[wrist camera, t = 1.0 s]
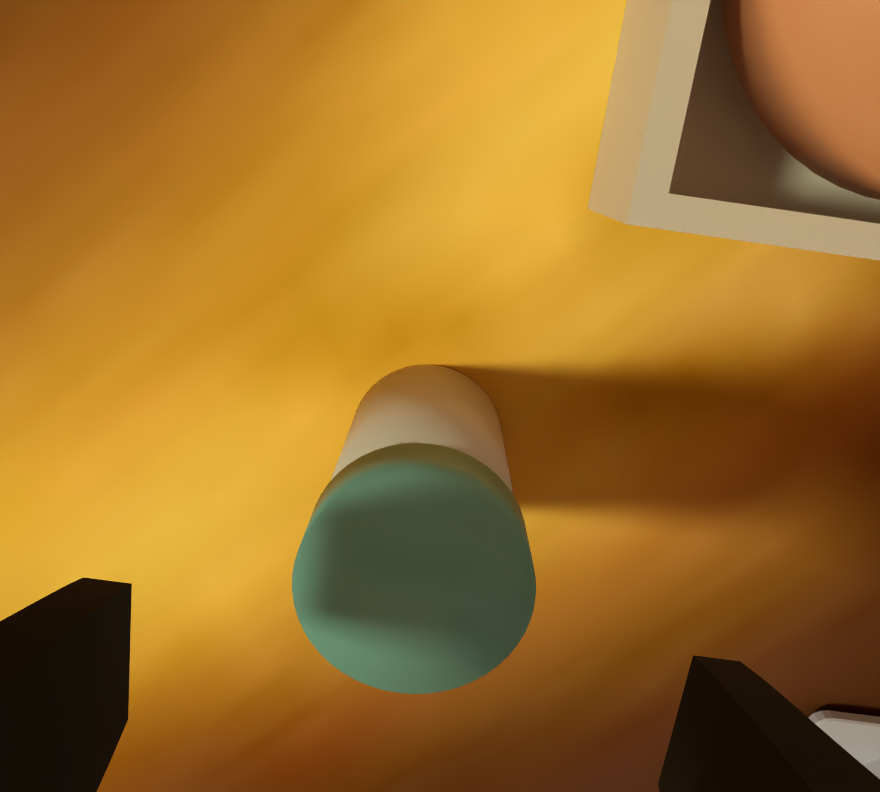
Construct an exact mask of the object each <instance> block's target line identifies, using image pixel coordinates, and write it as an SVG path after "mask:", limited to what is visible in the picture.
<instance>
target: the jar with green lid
mask: <svg viewBox="0 0 880 792" xmlns="http://www.w3.org/2000/svg"><path fill="white" fill-rule="evenodd" d="M292 592H293V599H294V605H295V609H296V612H297V616H298V619H299V621H300V623H301V625H302V628H303V630H304V632H305V633H306V635H307V636H308V638H309V640H310V641H311V643H312V644H313V645H314V647H315V648H316V649H317V650H318V651H319V653H320V654H321V655H322V656H323V657H324V658H325V659H326V660H328V661H329V662H330V663H331V664H332V665H333V666H335V667H336V668H337V669H339V670H340V671H341V672H343V673H345V674H346V675H348V676H350V677H352V678H353V679H355V680H357V681H359V682H362V683H364V684H366V685H369V686H372V687H375V688H379V689H382V690H386V691H392V692H397V693H408V694H424V693H434V692H441V691H446V690H450V689H453V688H457V687H460V686H463V685H465V684H468V683H470V682H473V681H475V680H476V679H478V678H480V677H482V676H484V675H485V674H487V673H488V672H490V671H491V670H493V669H494V668H495V667H497V666H498V665H499V664H500V663H501V662H502V661H503V660H504V659H505V658H507V657H508V656H509V654H510V653H511V652H512V651H513V650H514V648H515V647H516V646H517V645H518V643H519V641H520V640H521V638H522V637H523V635H524V633H525V631H526V629H527V627H528V624H529V622H530V620H531V616H532V612H533V609H534V603H535V595H536V580H535V573H534V567H533V562H532V557H531V552H530V547H529V542H528V537H527V532H526V527H525V522H524V519H523V516H522V513H521V510H520V507H519V505H518V503H517V501H516V499H515V497H514V495H513V489H512V484H511V479H510V473H509V468H508V463H507V457H506V452H505V446H504V441H503V436H502V430H501V425H500V419H499V416H498V413H497V410H496V408H495V406H494V404H493V402H492V401H491V399H490V398H489V396H488V395H487V393H486V392H485V391H484V390H483V389H482V388H481V387H480V386H479V385H478V384H477V383H476V382H475V381H473V380H472V379H470V378H469V377H467V376H466V375H464V374H462V373H460V372H458V371H456V370H453V369H450V368H447V367H442V366H437V365H415V366H410V367H405V368H402V369H399V370H397V371H394V372H392V373H390V374H388V375H387V376H385V377H383V378H382V379H380V380H379V381H378V382H377V383H376V384H374V385H373V386H372V387H371V388H370V390H369V391H368V392H367V393H366V394H365V396H364V397H363V399H362V400H361V402H360V404H359V406H358V408H357V411H356V413H355V416H354V419H353V422H352V424H351V427H350V430H349V433H348V435H347V438H346V441H345V443H344V446H343V449H342V452H341V454H340V457H339V460H338V463H337V465H336V468H335V471H334V473H333V476H332V479H331V481H330V482H329V484H328V485H327V486H326V488H325V489H324V491H323V492H322V494H321V496H320V498H319V500H318V502H317V504H316V506H315V508H314V511H313V513H312V516H311V519H310V521H309V524H308V526H307V529H306V532H305V534H304V537H303V539H302V542H301V545H300V547H299V550H298V553H297V556H296V559H295V563H294V569H293V575H292Z"/></svg>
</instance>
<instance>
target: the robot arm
mask: <svg viewBox="0 0 880 792" xmlns="http://www.w3.org/2000/svg"><path fill="white" fill-rule="evenodd" d="M131 586H132V584H129V583H121V582H114V581H106V580H98V579H90V578H81V579H79V580H77V581H75V582H73V583H71V584H69V585H67V586H65V587H63V588H61V589H59V590H57V591H55V592H53V593H51V594H49V595H48V596H46V597H44V598H42V599H40V600H38V601H37V602H35V603H33V604H31V605H29V606H27V607H26V608H24V609H22V610H20V611H18V612H17V613H15V614H13V615H11V616H9V617H7V618H6V619H4V620H2V621H0V792H96V791H97V789H98V787H99V785H100V783H101V780H102V778H103V776H104V774H105V771H106V769H107V767H108V765H109V763H110V760H111V758H112V756H113V753H114V751H115V749H116V746H117V744H118V742H119V739H120V737H121V734H122V732H123V730H124V727H125V725H126V723H127V720H128V701H129V663H130V624H131ZM658 785H659V791H660V792H880V717H877V716H869V715H861V714H853V713H845V712H837V711H829V710H825V711H818V712H816V713H813V714H812V715H811V716H810V717H807V716H806V715H804V714H803V713H802V712H801V711H800V710H799V709H797V708H796V707H795V706H794V705H793V704H792V703H791V702H789V701H788V700H787V699H786V698H785V697H784V696H782V695H781V694H780V693H779V692H778V691H777V690H775V689H774V688H773V687H772V686H771V685H769V684H768V683H767V682H766V681H765V680H763V679H762V678H761V677H760V676H758V675H757V674H756V673H755V672H753V671H752V670H751V669H749V668H748V667H747V666H745V665H744V664H743V663H741V662H740V661H732V660H724V659H717V658H709V657H701V656H693V658H692V662H691V665H690V669H689V673H688V677H687V680H686V684H685V688H684V691H683V695H682V699H681V702H680V706H679V710H678V713H677V717H676V721H675V724H674V728H673V732H672V735H671V739H670V743H669V746H668V750H667V754H666V757H665V761H664V765H663V768H662V772H661V776H660V779H659V783H658Z"/></svg>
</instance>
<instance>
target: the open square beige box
mask: <svg viewBox="0 0 880 792" xmlns="http://www.w3.org/2000/svg"><path fill="white" fill-rule="evenodd" d="M588 209H589V210H592V211H594V212H597V213H599V214H602V215H604V216H607V217H610V218H612V219H615V220H617V221H620V222H622V223H625V224H629V225H636V226H643V227H650V228H657V229H664V230H671V231H678V232H685V233H692V234H699V235H706V236H713V237H720V238H727V239H734V240H741V241H748V242H755V243H762V244H769V245H776V246H783V247H790V248H797V249H804V250H811V251H818V252H825V253H831V254H838V255H845V256H852V257H859V258H866V259H873V260H880V200H878V199H874V198H869V197H865V196H862V195H859V194H857V193H854V192H851V191H849V190H846V189H843V188H841V187H838V186H836V185H834V184H833V183H831V182H829V181H827V180H826V179H824V178H822V177H820V176H818V175H817V174H815V173H813V172H812V171H811V170H809V169H808V168H807V167H805V166H804V165H803V164H802V163H800V162H799V161H798V160H796V159H795V158H794V157H792V156H791V155H790V154H789V153H788V152H787V151H786V150H785V148H784V147H783V146H782V145H781V144H780V143H779V142H778V141H777V140H776V139H775V138H774V137H773V136H772V135H771V133H770V132H769V131H768V129H767V128H766V126H765V125H764V124H763V122H762V121H761V119H760V118H759V117H758V115H757V114H756V112H755V111H754V109H753V107H752V105H751V103H750V101H749V99H748V97H747V95H746V93H745V91H744V89H743V88H742V86H741V84H740V81H739V78H738V75H737V72H736V69H735V66H734V64H733V61H732V58H731V55H730V51H729V46H728V41H727V36H726V31H725V27H724V21H723V9H722V0H627V3H626V8H625V13H624V19H623V24H622V29H621V34H620V40H619V45H618V50H617V56H616V61H615V66H614V72H613V77H612V82H611V87H610V93H609V98H608V103H607V109H606V114H605V119H604V125H603V130H602V135H601V140H600V146H599V151H598V156H597V162H596V167H595V172H594V178H593V183H592V188H591V193H590V199H589V204H588Z"/></svg>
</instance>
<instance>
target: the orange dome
mask: <svg viewBox="0 0 880 792" xmlns="http://www.w3.org/2000/svg"><path fill="white" fill-rule="evenodd" d="M722 9H723V21H724V27H725V31H726V36H727V41H728V46H729V51H730V55H731V58H732V61H733V64H734V66H735V69H736V72H737V75H738V78H739V81H740V84H741V86H742V88H743V89H744V91H745V93H746V95H747V97H748V99H749V101H750V103H751V105H752V107H753V109H754V111H755V112H756V114H757V115H758V117H759V118H760V119H761V121H762V122H763V124H764V125H765V126H766V128H767V129H768V131H769V132H770V133H771V135H772V136H773V137H774V138H775V139H776V140H777V141H778V142H779V143H780V144H781V145H782V146H783V147H784V148H785V150H786V151H787V152H788V153H789V154H790V155H791V156H792V157H794V158H795V159H796V160H798V161H799V162H800V163H802V164H803V165H804V166H805V167H807V168H808V169H809V170H811V171H812V172H813V173H815V174H817V175H818V176H820V177H822V178H824V179H826V180H827V181H829V182H831V183H833V184H834V185H836V186H838V187H841V188H843V189H846V190H849V191H851V192H854V193H857V194H859V195H862V196H865V197H869V198H874V199H878V200H880V0H722Z"/></svg>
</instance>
